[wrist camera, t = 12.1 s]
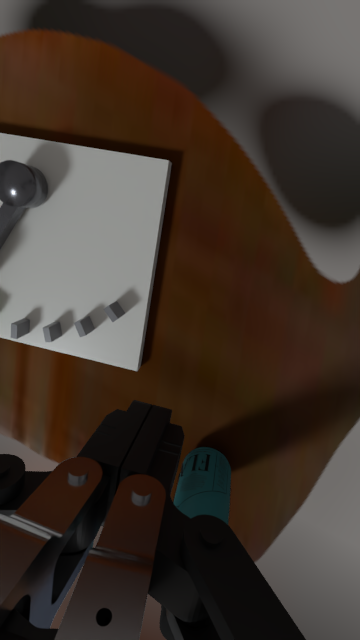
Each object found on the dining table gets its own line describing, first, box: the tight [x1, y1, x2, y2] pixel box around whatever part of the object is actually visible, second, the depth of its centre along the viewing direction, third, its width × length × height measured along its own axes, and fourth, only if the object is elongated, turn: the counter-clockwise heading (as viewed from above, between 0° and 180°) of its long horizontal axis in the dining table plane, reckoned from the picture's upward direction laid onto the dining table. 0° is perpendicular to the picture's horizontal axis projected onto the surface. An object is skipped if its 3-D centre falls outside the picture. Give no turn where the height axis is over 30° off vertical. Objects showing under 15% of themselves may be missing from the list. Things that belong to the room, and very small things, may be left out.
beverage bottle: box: [160, 447, 232, 640], centre depth 35 cm, size 6×7×20 cm
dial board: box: [0, 133, 172, 371], centre depth 39 cm, size 24×30×4 cm
